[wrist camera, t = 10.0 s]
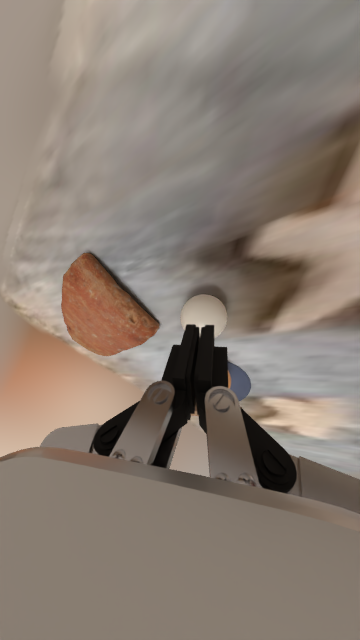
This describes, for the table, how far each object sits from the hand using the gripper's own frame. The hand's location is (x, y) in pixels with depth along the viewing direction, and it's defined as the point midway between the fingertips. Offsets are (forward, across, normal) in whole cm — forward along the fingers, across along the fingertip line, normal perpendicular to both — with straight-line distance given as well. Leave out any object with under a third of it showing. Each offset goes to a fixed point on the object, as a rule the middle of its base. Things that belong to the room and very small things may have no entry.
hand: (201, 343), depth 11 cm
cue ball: (+11, +1, +5) cm, 12 cm away
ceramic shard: (+15, +18, +7) cm, 24 cm away
